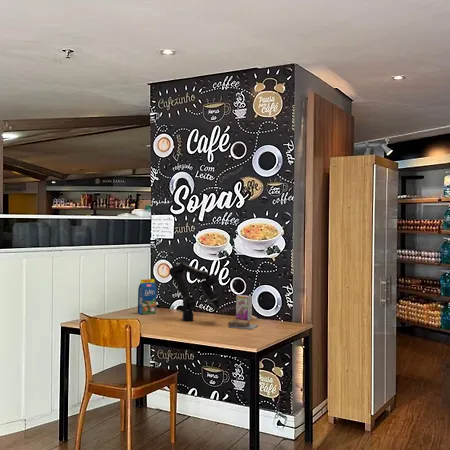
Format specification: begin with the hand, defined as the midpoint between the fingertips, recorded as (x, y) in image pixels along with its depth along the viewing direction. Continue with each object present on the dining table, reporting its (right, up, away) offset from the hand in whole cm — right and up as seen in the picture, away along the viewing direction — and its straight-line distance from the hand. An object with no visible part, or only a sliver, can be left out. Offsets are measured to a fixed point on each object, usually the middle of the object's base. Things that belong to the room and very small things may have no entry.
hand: (218, 310), depth 374 cm
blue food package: (-53, -9, +42) cm, 68 cm away
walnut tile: (+8, -7, -6) cm, 12 cm away
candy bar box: (+17, -10, +24) cm, 31 cm away
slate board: (+16, -9, -9) cm, 21 cm away
